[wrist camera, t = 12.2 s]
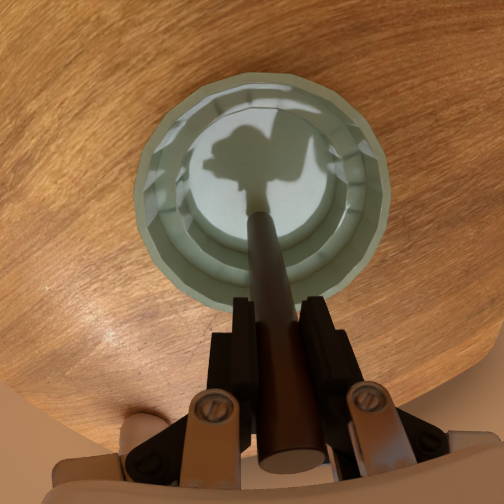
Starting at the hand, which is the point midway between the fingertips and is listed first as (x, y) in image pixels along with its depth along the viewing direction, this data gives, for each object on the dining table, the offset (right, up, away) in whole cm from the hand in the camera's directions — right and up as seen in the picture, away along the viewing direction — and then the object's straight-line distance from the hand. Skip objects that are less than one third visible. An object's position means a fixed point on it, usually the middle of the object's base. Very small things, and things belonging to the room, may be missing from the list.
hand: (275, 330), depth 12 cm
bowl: (0, +8, +10) cm, 13 cm away
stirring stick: (0, +5, +9) cm, 11 cm away
